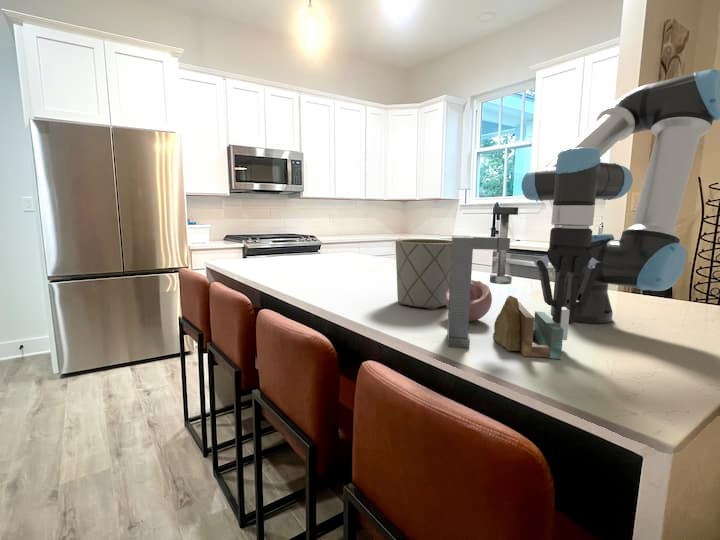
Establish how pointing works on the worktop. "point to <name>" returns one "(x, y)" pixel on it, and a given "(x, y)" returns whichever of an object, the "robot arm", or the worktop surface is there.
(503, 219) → the ram
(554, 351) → the frame
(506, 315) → the rock
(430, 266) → the planter
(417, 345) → the worktop surface
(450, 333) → the press frame
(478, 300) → the mortar and pestle
